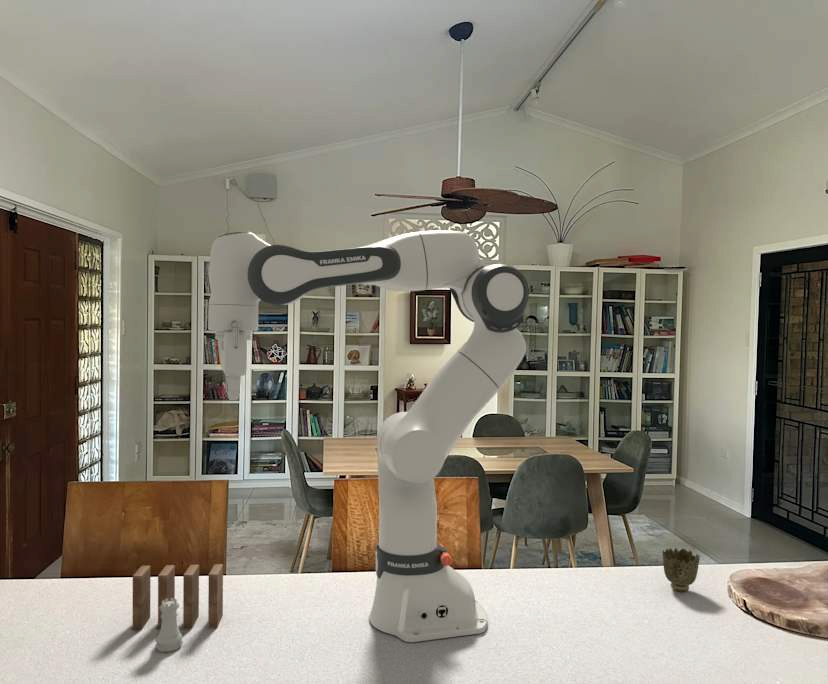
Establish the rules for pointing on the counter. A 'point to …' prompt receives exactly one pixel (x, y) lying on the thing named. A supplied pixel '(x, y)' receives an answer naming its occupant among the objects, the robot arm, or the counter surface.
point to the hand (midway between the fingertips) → (232, 396)
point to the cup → (680, 568)
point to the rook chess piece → (169, 627)
